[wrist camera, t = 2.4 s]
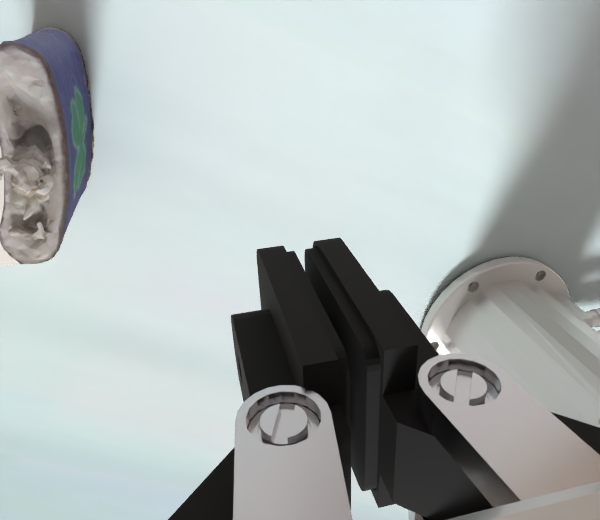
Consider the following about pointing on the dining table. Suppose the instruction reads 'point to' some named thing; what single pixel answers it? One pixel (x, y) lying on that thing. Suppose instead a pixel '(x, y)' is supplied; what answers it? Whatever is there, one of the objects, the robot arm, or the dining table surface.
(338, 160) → the dining table surface
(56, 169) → the blue green-marked block
